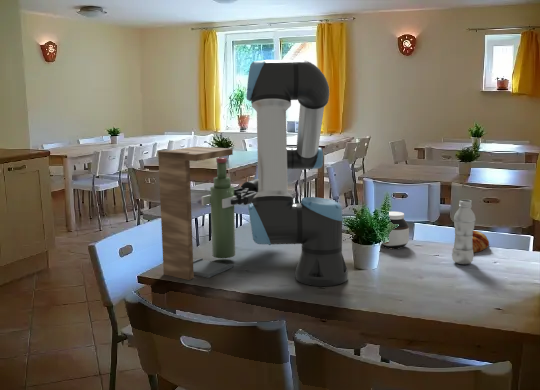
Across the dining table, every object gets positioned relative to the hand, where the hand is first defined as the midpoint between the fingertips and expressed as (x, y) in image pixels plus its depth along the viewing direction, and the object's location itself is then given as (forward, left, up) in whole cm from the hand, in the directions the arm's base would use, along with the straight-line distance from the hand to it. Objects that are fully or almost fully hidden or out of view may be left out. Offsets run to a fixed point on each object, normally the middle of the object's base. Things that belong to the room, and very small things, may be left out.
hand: (212, 202), depth 183 cm
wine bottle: (+2, -4, -18) cm, 19 cm away
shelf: (-4, +6, -20) cm, 21 cm away
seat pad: (-2, +4, -20) cm, 20 cm away
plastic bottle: (-36, -68, -20) cm, 80 cm away
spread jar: (-9, -60, -20) cm, 64 cm away
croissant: (-25, -85, -20) cm, 91 cm away
